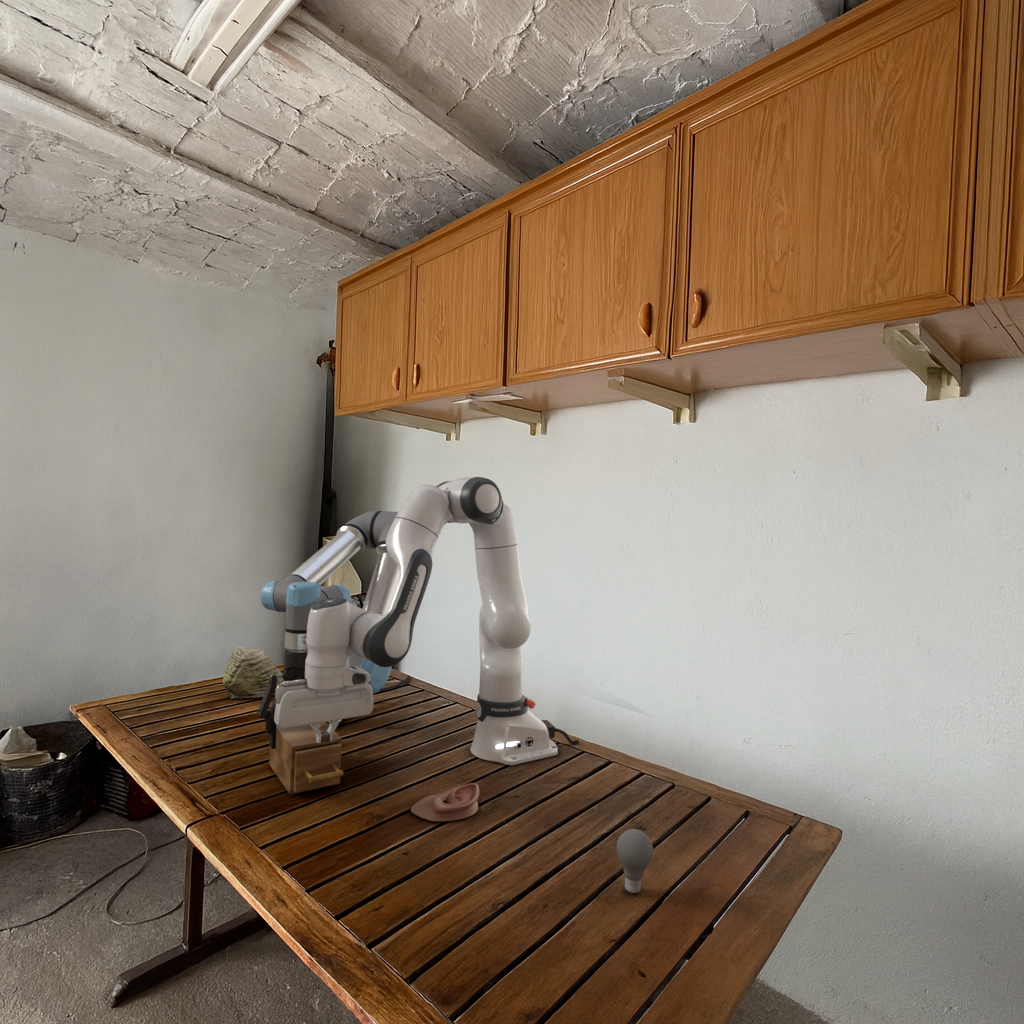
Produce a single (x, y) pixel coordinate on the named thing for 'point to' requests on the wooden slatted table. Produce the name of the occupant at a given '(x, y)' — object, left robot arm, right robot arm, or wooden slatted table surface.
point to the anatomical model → (449, 804)
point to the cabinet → (294, 750)
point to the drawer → (317, 767)
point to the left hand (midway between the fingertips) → (297, 742)
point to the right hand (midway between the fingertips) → (324, 741)
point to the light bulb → (634, 857)
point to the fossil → (249, 673)
